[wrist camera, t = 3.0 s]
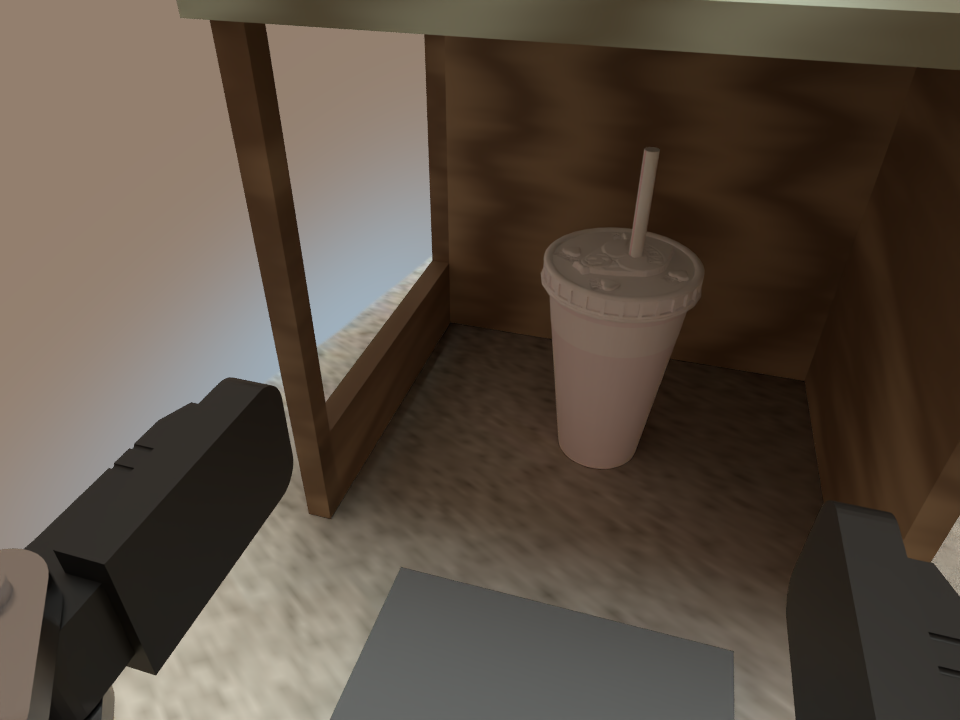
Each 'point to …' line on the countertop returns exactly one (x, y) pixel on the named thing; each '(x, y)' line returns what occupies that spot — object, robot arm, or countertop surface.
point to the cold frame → (660, 207)
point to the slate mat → (524, 662)
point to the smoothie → (615, 327)
